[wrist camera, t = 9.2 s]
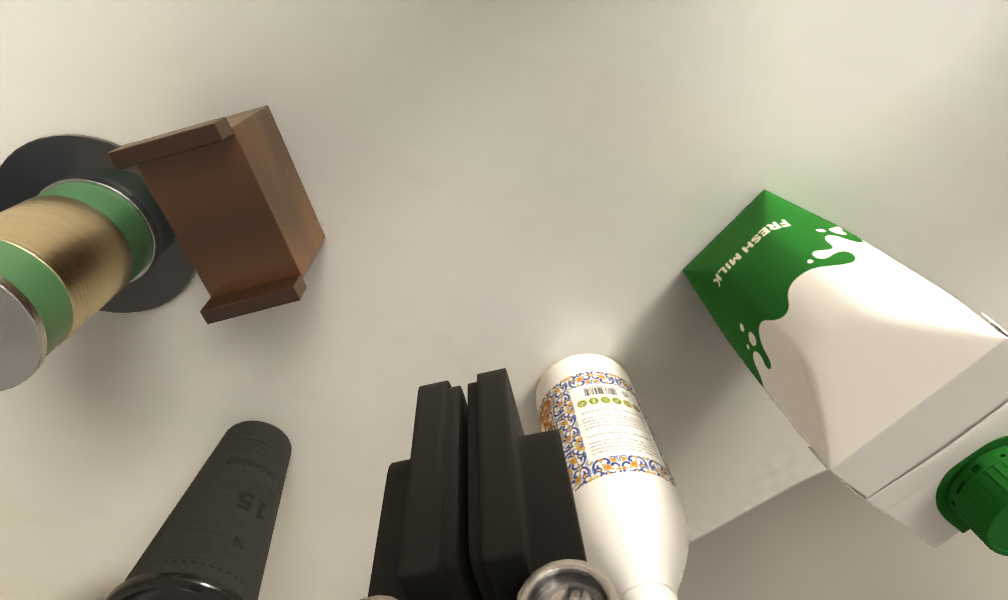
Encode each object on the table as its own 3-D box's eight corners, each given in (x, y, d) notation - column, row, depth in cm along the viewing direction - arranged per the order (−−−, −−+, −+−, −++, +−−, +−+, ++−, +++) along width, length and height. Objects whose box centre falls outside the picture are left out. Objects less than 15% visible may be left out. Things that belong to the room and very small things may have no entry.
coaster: (-50, 163, 32) (-55, 165, 31) (136, 110, 31) (133, 111, 31) (70, 328, 37) (67, 331, 37) (232, 286, 36) (230, 288, 36)
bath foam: (522, 365, 40) (571, 654, 23) (618, 338, 40) (743, 612, 22) (547, 437, 44) (606, 737, 26) (636, 412, 43) (758, 702, 26)
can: (79, 169, 35) (-187, 287, 27) (159, 141, 28) (-177, 293, 20) (147, 261, 38) (-73, 391, 30) (236, 259, 31) (-27, 431, 23)
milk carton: (748, 341, 41) (966, 606, 23) (660, 271, 38) (836, 518, 20) (850, 250, 38) (1188, 475, 20) (765, 166, 35) (1077, 347, 17)
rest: (177, 120, 31) (105, 153, 25) (264, 95, 31) (213, 122, 25) (252, 265, 36) (207, 324, 29) (328, 244, 35) (300, 300, 29)
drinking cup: (283, 497, 45) (169, 824, 27) (186, 458, 42) (-7, 790, 25) (330, 434, 42) (237, 751, 25) (229, 388, 40) (47, 704, 22)
